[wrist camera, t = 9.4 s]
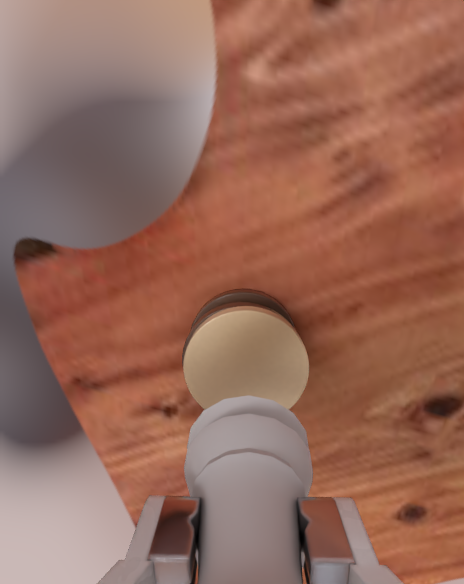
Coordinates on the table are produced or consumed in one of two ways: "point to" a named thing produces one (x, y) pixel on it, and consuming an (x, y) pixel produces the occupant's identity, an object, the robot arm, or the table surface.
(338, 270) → the table surface
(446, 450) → the table surface
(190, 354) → the chip pile
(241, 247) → the table surface
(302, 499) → the robot arm
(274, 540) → the rook chess piece
